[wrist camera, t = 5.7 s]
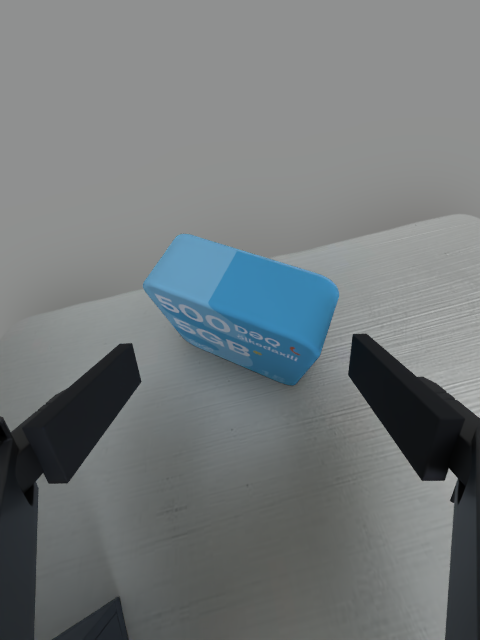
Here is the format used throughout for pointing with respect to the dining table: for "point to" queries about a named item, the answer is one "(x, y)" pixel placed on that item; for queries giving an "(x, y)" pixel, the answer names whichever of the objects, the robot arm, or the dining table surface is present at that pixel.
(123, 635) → the dark grey open box
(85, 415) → the robot arm
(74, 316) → the dining table surface
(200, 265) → the data package
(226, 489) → the dining table surface
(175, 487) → the dining table surface
